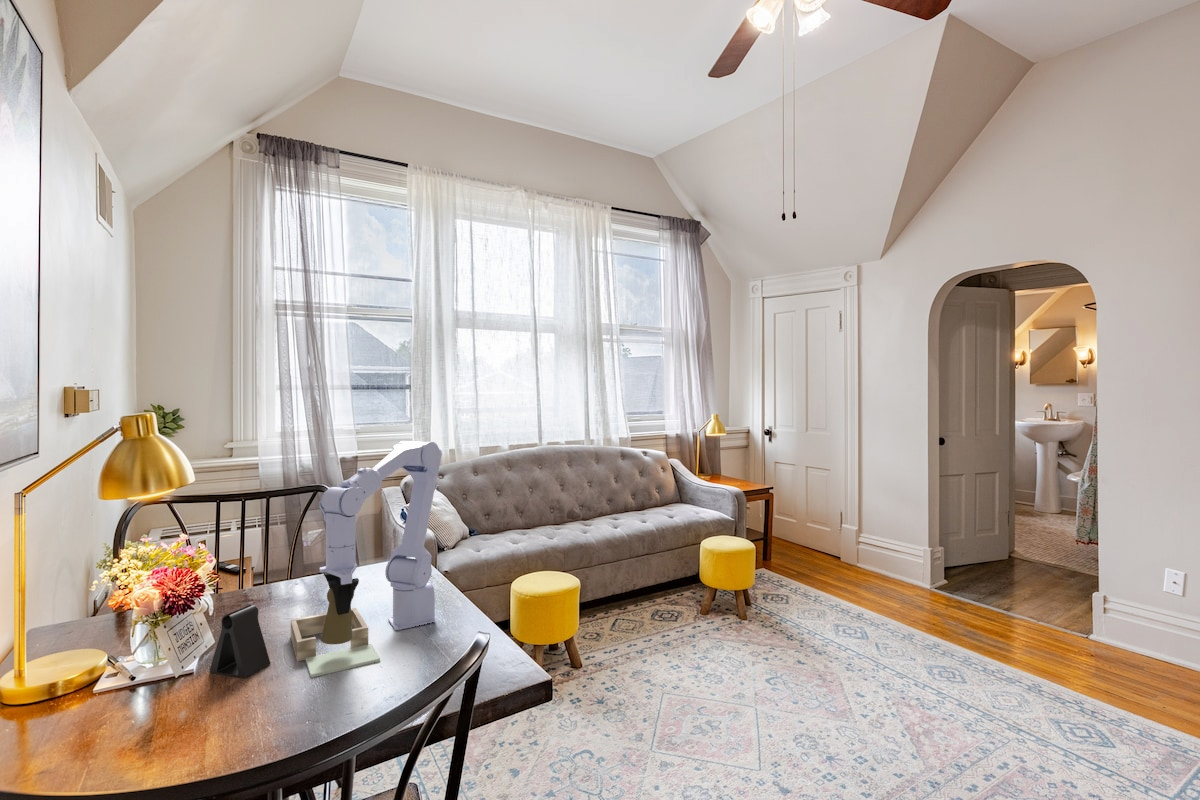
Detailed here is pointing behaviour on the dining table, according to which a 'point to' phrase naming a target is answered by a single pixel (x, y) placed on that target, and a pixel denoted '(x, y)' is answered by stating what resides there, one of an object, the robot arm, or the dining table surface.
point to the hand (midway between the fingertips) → (340, 609)
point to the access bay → (316, 626)
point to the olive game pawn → (336, 624)
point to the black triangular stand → (240, 645)
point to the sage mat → (341, 660)
